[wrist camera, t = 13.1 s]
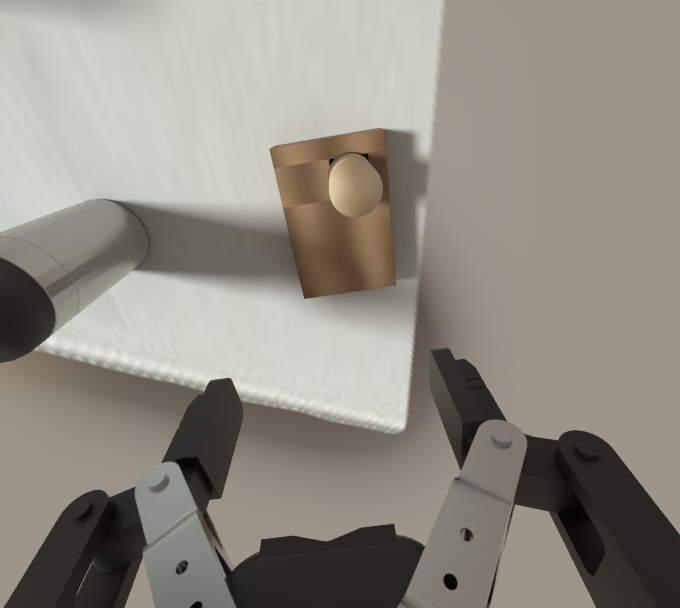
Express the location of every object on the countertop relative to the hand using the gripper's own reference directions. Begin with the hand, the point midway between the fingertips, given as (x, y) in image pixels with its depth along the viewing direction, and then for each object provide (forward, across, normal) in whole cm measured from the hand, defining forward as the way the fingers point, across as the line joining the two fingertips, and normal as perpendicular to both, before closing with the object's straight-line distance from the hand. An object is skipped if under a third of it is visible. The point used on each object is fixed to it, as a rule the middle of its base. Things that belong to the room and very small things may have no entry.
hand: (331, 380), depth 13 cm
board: (+32, -1, +2) cm, 32 cm away
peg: (+32, -3, -3) cm, 32 cm away
